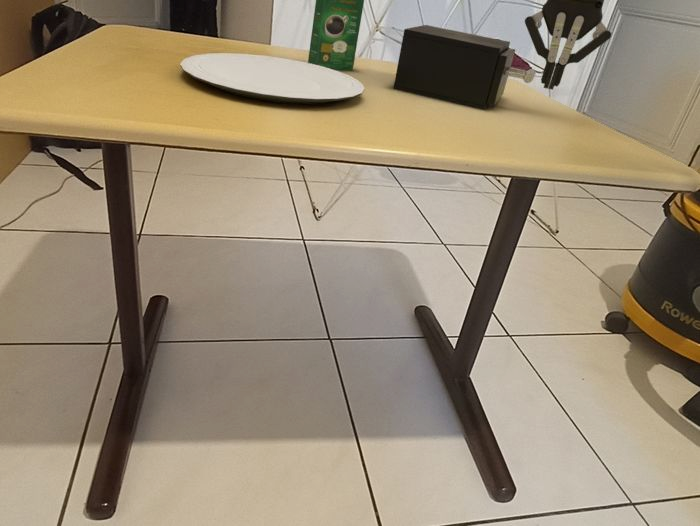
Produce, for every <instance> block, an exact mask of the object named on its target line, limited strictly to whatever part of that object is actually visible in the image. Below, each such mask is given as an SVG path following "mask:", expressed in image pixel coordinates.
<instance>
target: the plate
mask: <svg viewBox="0 0 700 526" xmlns="http://www.w3.org/2000/svg"><path fill="white" fill-rule="evenodd" d="M179 65H180V68H181V69H182V71H183V72H184V73H185V74H187V75H188V76H190V77H192V78H193V79H195V80H198V81H199V82H202V83H205V84H208V85H211V86H213V87H215V88H217V89H219V90H221V91H224V92H227V93H230V94H233V95H238V96H241V97H245V98H249V99H254V100H255V99H256V100H261V101H267V102H273V103H274V102H275V103H282V104H298V105H312V104H313V105H314V104H315V105H316V104H324V103H330V102H337V101H343V100H344V101H345V100H352V99H353V98H356V97H359V96H361V95H363V93H364V91H365V87H364V85H363V84H362V83H361V81H360V80H358V79H356V78H355V77H353V76H351V75H349V74H347V73H344V72H341V71H340V70H333V69H329V68H326V67H323V66H319V65H314V64H310V63H308V62H307V61H301V60H296V59H290V58H284V57H276V56H270V55H263V54H252V53H251V54H249V53H237V52H236V53H234V52H214V53H213V52H212V53H210V52H209V53H201V54H194V55H191V56H188V57H185V58H183V60H181V62H180V64H179Z"/></svg>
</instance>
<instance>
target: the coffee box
mask: <svg viewBox="0 0 700 526" xmlns="http://www.w3.org/2000/svg"><path fill="white" fill-rule="evenodd" d="M364 5H365V0H315V5H314V13H313V21H312V28H311V34H310V43H309V50H308V58H307V59H308V60H307V63H310V64H314V65H319V66H323V67H326V68H329V69H333V70H336V71H344V72H345V71H346V72H347V71H349V72H353V71H354V66H355V60H356V52H357V46H358V42H359V41H358V40H359V33H360V28H361V22H362V16H363V11H364V10H363V9H364Z"/></svg>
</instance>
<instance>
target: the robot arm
mask: <svg viewBox="0 0 700 526" xmlns="http://www.w3.org/2000/svg"><path fill="white" fill-rule="evenodd" d="M604 3H605V0H546V2H545V3H544V4H543V6H542V8H541V10H540V11H539V12H536V13H534V14H533V15H529V16H527V17H525V19H524V25H525V27H526V29H527V31H528V35H529V36H530V39H531V42H532V44H533V47H534V49H535V52H536V54H537V55H538V56H540V57H541V58H543V59H544V61H545V66H544V69H543V72H542V75H541V79H540V83H541V84H543V89H548V90H554V88H555V87H558V86H559V85H560V84H561V81H562V78H563V75H564V72H565V68H566V66H567V65H569V64H574V63H575V64H578V63H580V62H581V61H582V60H584V59H585V58H586V57H588V56H589V55H590V54H591V53H593V52H594V51H596V50H597V49H598V48H599V47H601V46H602V45H603V44H604V43H606V42H607V41H608V40H610V38H611V37H612V32H611V31H610V30H609V29H607V27H606V26H605V24H604V23H603V22H602V20H603V16H604V15H603V6H604ZM543 20H544V22H545V26H546V29H547V31H548V34H549V35H550V36H551V41H550V45H549V48H547V47H546V45H545V43H544V40H543V37H542V35H541V33H540V31H539V29H540V28H541V27H542V24H543V23H542V21H543ZM593 29H595V30H594V31H593V33H592V36H591V37H592V39H591V40H590V41H589V42H588V43H586V44H585V45H584V46H583V47H581V48H580V49H578V51H576V52H574V53H572V51H573V49H574V46H575V44H576V42H577V41H580V40H582V39H583V38H585V36H586V35H588V34H589V33H590V32H591V31H592V30H593ZM562 39H566V40H565V43H564V46H563V48H562V51H561V53H560V56H559V57H558V52H559V48H560V43H561V40H562ZM557 57H558V61H557ZM556 61H557V62H556Z"/></svg>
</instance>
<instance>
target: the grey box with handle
mask: <svg viewBox="0 0 700 526" xmlns="http://www.w3.org/2000/svg"><path fill="white" fill-rule="evenodd" d="M515 53H516V48H511V47H509V48H508V49H507V50H505V51H504V52H503V53H501V54H500V55H499V58H498V61H497V65H496V69H495V72H494V76H493V80H492V84H491V87H490V91H489V95H488V99H487V102H486V105H488V106H490V107H494V106H495V105H496V104H497V102H498V101H499V100H501V97H502V96H503V95H504V93H505V89H506V85H507V82H508V78H509V77H510V78H511V77H512V78H516V79H522V80H523V82H524V83H526V84H529V83H532V82H533V80H534V78H535V76H536V70H535V69H533V68H530V69H528V70H525V69H524V70H523V69H520V68H516V67H512V63H513V60H514V58H515V57H514V56H515Z"/></svg>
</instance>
